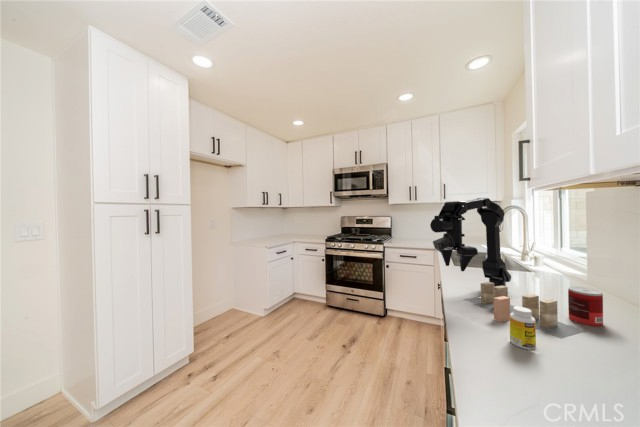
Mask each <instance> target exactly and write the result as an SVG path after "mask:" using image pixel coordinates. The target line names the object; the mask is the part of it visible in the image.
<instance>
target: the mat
mask: <svg viewBox="0 0 640 427" xmlns="http://www.w3.org/2000/svg"><path fill="white" fill-rule="evenodd" d="M477 297H478V296H475V297H468V298H464V299H463V301H467V302H469V303H472V304H475V305H476V306H479V307H481V308H484V309H486V310H489V311H492V312H494V307H493V303H491V304H483V303H481V298H477ZM513 307H516V306H515V305H512V304H510V314H511V313H513ZM535 321H536V329H537V330H539V331H542V332H544V333H546V334H549V335H552V336H554V337H556V338H559V339H564V338H567V337H570V336H571V337H572V336H573V335H574V336H575V335H578V334H581V333H584V332H586V330H584V329H580V328H578V327H574V326H572V325H569V324H566V323H563V322H561V321H558V326H554V327H550V328H546V327H543V326H541V325H540V314H539V319H536V320H535Z"/></svg>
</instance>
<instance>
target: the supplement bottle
mask: <svg viewBox="0 0 640 427" xmlns="http://www.w3.org/2000/svg"><path fill="white" fill-rule="evenodd" d="M536 332H537V331H536V321H535V319H534V318H533V317H532V311H531V310H530V309H527V308H524V307H522V306H515V307H513V313H511V314H510V320H509V340H510V342H511V343H512V344H513V345H514V346H516V347H518V348H519V349H520V348H521V349H524V350H532V349H535V348H536V346H537V343H536V342H537V341H536V340H537V339H536V338H537V337H536V334H537V333H536Z"/></svg>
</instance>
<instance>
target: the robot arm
mask: <svg viewBox="0 0 640 427" xmlns="http://www.w3.org/2000/svg"><path fill="white" fill-rule="evenodd" d="M475 209H476V213H478V215H479V216H480V218H481V223H483V225H484V226H485V234H486V235H485V237H486V253H487V254H486V256H487V257H486V258H485V260H482V262H481V263H482V273H483V276H484V278H488V282H492V283H494V287H496V286H506V287H507V283H510V282H511V280H512V275H511V274H510V273H509V270H507V266H506V263H505V262H504V260H503V259H502V256H501V238H500V237H501V236H500V226H501V224H502V223H503V222H504V217H505V211H504V209H503V208H502V207H501V205H499V204H497V203H496V202H494V201H492V200H491V199H490V198H489V197H478V198H475V199H470V200H464V201H463V200H459V201H458V200H457V201H456V200H455V201H446V202H444V203H443V206H442V208H441V210H440V212H439V214H438V215H434V216H433V217H434V218H433V219H432V220H431V222H430V229H431V231H432V232H434V233H435V234H436V233H443V237H441V238H438V239H435V240H433V241H432V244H433V247H434V249H435V250H436V251H438V252H439V253H441V256H442V259H443V261H444V264H445V266H446V267H449V266H450V263H451V258H452V254H453V251H456V253H457V254H455V255H456V257H458V259H459V265H460V266H459V268H460V271H461V272H464V271H465V270H466V269H467V267H468V265H469V263H470V261H471V260H472V259H473V258H474V257H476V256H478V254H479V253H478V252H479V250H478V248H476V247H475V246H469V245H466V244H465V243H463V237H465V233H463V221H465V220H466V218H465V217H464V216H463V215H464V214H466V213H467V212H468V211H471V210H475ZM465 245H466V246H465Z"/></svg>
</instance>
